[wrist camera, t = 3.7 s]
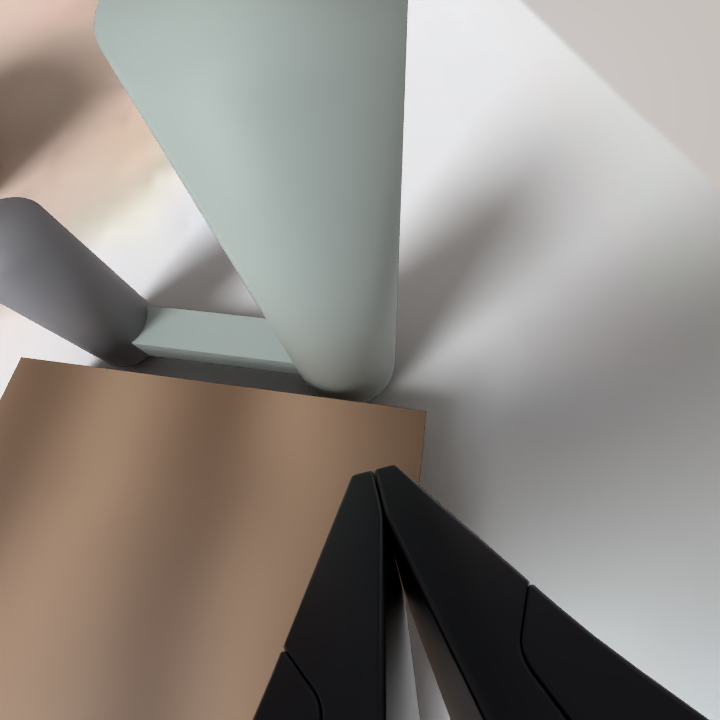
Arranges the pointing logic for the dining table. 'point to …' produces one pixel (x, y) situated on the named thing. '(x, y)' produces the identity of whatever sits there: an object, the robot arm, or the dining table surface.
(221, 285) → the dining table surface
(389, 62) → the grey u-shaped piece
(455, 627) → the robot arm
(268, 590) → the stool seat
